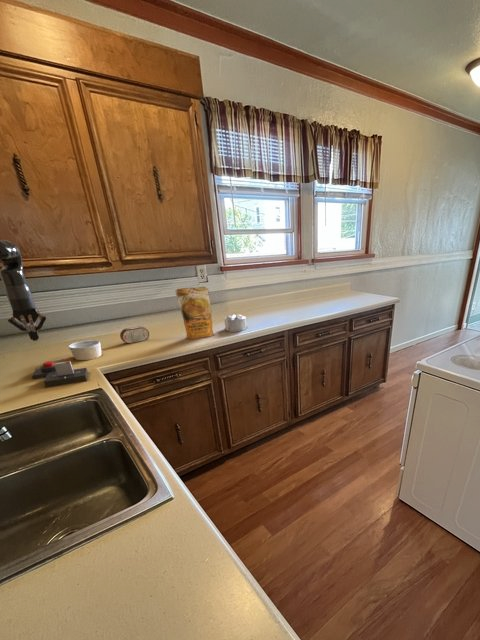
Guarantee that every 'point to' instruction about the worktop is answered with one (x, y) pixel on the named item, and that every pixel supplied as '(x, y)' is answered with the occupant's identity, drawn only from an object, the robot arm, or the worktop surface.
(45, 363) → the power button
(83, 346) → the ramekin
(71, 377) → the control panel
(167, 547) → the worktop surface
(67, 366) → the grey rectangular block
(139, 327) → the tin
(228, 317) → the lumpy-topped squat cylinder
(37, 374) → the power switch
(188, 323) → the pancake mix bag
